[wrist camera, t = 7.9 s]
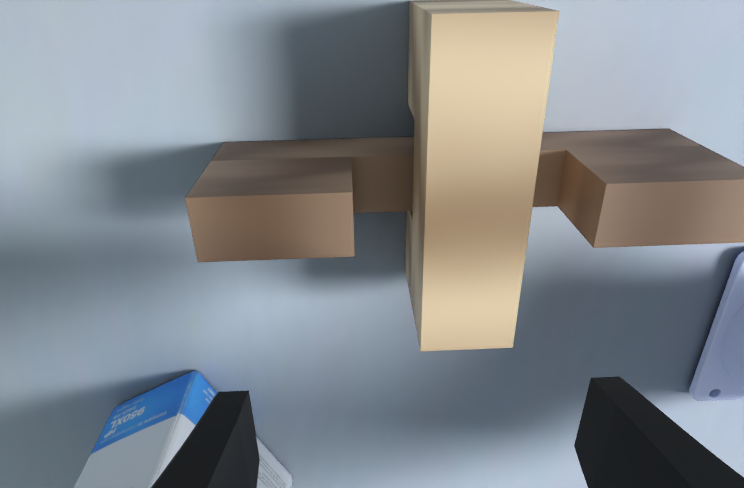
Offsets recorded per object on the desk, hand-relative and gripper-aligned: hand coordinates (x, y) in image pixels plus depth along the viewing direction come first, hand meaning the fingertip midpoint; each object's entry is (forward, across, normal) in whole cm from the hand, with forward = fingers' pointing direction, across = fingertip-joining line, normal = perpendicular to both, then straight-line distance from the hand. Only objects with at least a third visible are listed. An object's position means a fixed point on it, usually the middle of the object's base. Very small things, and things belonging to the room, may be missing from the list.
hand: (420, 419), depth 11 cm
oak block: (+10, -2, -2) cm, 11 cm away
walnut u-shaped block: (+10, -2, -2) cm, 11 cm away
